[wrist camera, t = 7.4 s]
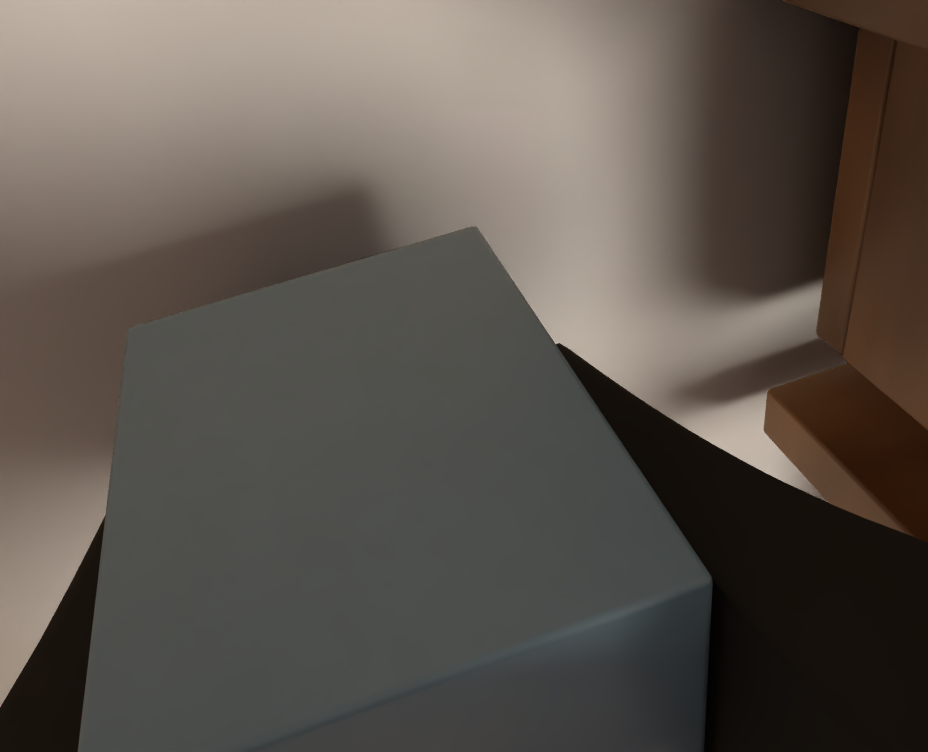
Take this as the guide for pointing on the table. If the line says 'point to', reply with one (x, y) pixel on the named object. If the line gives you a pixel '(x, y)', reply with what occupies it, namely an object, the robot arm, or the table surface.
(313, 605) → the box
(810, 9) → the cabinet
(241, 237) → the table surface
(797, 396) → the drawer
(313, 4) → the table surface
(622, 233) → the table surface
